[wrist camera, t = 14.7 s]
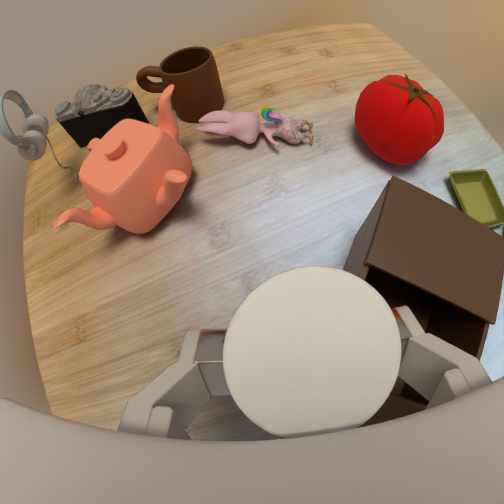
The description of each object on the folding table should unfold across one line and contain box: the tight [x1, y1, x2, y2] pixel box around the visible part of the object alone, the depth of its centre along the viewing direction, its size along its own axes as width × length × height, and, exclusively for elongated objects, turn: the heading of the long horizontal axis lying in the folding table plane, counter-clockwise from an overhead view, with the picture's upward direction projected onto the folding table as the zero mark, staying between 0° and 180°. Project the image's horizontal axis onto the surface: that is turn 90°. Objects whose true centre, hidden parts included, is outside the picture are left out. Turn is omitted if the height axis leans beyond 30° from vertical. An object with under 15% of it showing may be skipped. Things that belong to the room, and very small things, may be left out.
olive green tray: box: [449, 169, 504, 228], centre depth 29 cm, size 9×9×2 cm
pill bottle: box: [223, 266, 401, 439], centre depth 10 cm, size 5×5×8 cm
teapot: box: [54, 84, 192, 234], centre depth 30 cm, size 14×14×11 cm
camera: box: [55, 84, 149, 148], centre depth 35 cm, size 15×7×10 cm, turn 86°
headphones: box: [0, 90, 77, 184], centre depth 28 cm, size 8×4×20 cm, turn 23°
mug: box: [136, 47, 224, 122], centre depth 35 cm, size 12×8×9 cm, turn 84°
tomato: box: [355, 74, 444, 165], centre depth 29 cm, size 12×12×11 cm
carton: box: [343, 176, 504, 411], centre depth 22 cm, size 15×12×12 cm
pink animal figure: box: [197, 106, 315, 147], centre depth 33 cm, size 6×6×15 cm
